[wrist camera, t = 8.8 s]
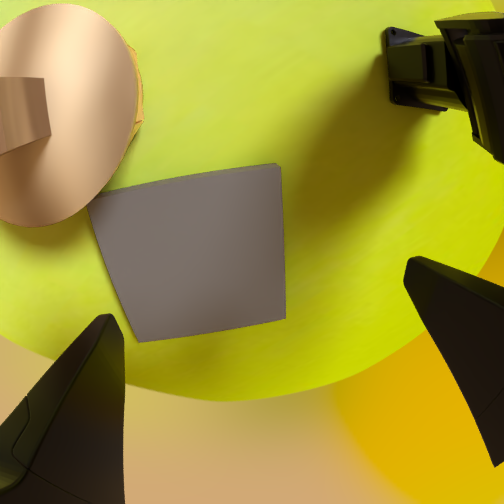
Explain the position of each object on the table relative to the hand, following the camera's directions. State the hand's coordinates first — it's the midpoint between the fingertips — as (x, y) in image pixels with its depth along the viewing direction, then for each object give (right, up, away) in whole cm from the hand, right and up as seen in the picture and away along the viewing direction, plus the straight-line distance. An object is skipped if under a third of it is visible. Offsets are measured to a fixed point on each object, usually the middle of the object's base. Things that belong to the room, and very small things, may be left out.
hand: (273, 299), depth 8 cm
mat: (-5, +1, +14) cm, 15 cm away
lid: (-12, +8, +3) cm, 15 cm away
